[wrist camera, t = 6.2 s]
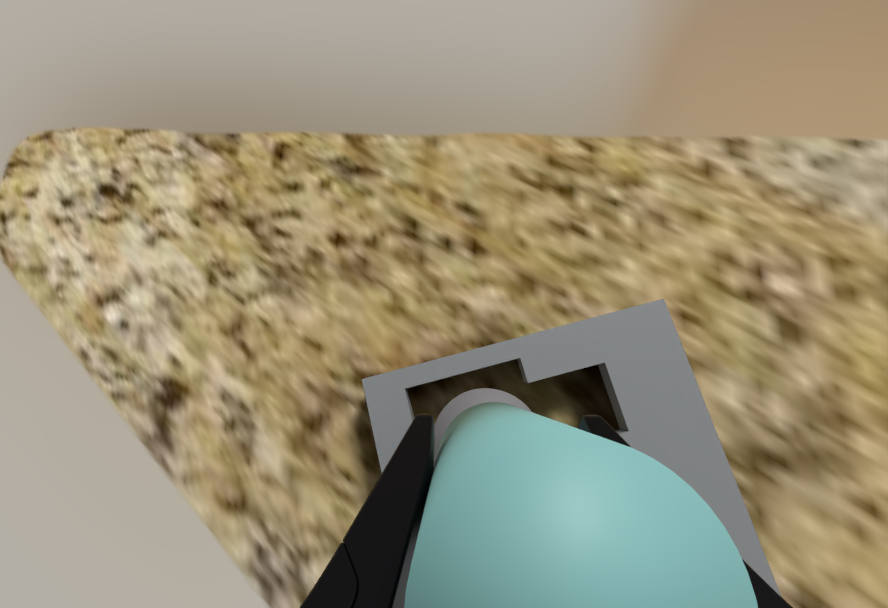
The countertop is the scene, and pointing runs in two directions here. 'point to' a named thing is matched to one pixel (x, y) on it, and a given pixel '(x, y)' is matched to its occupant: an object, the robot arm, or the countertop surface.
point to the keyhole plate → (629, 389)
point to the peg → (561, 521)
